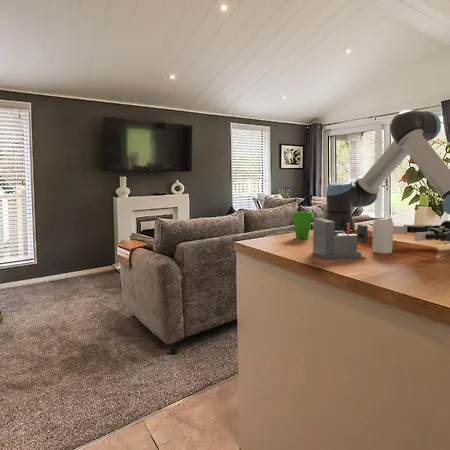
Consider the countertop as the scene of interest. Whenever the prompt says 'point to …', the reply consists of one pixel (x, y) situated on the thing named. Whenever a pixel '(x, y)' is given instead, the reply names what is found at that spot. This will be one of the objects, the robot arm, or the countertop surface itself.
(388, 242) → the can
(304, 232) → the cup
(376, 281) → the countertop surface
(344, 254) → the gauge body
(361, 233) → the plunger
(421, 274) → the countertop surface
